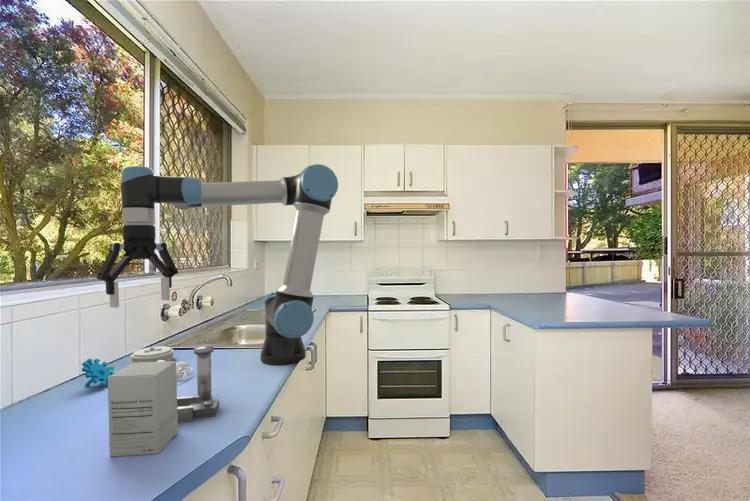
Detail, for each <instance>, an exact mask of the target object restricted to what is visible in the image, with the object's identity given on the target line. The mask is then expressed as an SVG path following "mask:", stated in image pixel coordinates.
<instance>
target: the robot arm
mask: <svg viewBox="0 0 750 501" xmlns="http://www.w3.org/2000/svg"><path fill="white" fill-rule="evenodd" d="M120 176H121V178H120V179H121V180H120V189H121V190H120V192H121V194H120V195H121V205H122V206H121V212H122V213H121V215H122V224H124V225H123V226H122V239H123V242H122V243H119V242H111V243H110V244H109V251H108V254H107V256H106V258H105V259H104V261H103V264H102V265H101V268H100V269H99V272H98V274H97V275H96V280H99V281H104V282H105V293H106V295H108V296H109V307H110V308H120V298H119V294H120V293H119V281H116V279H117V278H118V277H119V275H121V273H122V272H123V271H124V270H125V268H126V267H127V266H128V264H129V263H130V262H132V261H133V260H148V261H150V262H151V263H152V265H153V266H154V267H155V268H156V269H157V270H158V271H159V273H161V275H162V276H161V277H160V292H161V293H160V295H161V301H170V298H171V296H170V295H171V293H170V289H171V288H172V287H173V283H172V282H173V281H172V278H173V277H174V276H175V275H177V274H179V271H178V268H177V266H176V264H175V263H174V261H173V258H172V257H171V254H170V253H169V251H168V246H167V245H168V244H167V243H166V242H158V243H156V242H155V240H156V227H155V225H154V224H155V223H156V215H155V214H156V213H155V212H156V211H155V210H156V209H155V204H170V205H171V206H173V207H174V208H175V209H180V210H188V209H193V208H205V207H206V208H207V207H224V206H225V207H226V206H242V205H243V206H245V205H246V206H247V205H260V204H261V205H262V204H263V205H264V204H279V203H280V204H282V205H283V206H293V207H294V209H296V215H295V219H294V225H293V229H292V236H291V240H290V246H289V251H288V255H287V261H286V266H285V272H284V276H283V277H284V278H283V282H282V286H280V287H279V288H277V289H276V291H272V292H267V293H266V294H265V295H264V301H263V302H264V310H265V311H264V312H265V314H264V315H265V316H264V317H265V318H264V319H265V323H264V324H265V325H264V326H265V329H264V330H265V331H264V332H265V337H264V342H263V345H262V348H261V351H260V362H261V363H263V364H267V365H287V364H289V365H290V364H295V363H298V362H301V361H303V360H304V359H306V358H307V353H306V348H305V345H304V341H303V339H302V337H303V336H304V335H306V334H307V333H308V332H309V331H310V329H311V328H312V326H313V323H314V319H315V317H314V316H315V315H314V311H313V309H312V307H313V302H314V298H315V297H314V294H313V292H312V291H311V287H312V281H313V276H314V270H315V266H316V261H317V260H316V259H317V255H318V249H319V244H320V239H321V233H322V227H323V221H324V217H325V216H326V215H327V214H328V213H330V211H331V205H332V201H333V198H334V197H335V196H336V194H337V192H338V188H339V180H338V177H337V175H336V174H335V171H333V170H332V169H331V168H330V167H329V166H327V165H324V164H319V163H318V164H317V163H316V164H312V165H308V166H306V167H305V168H304V169H303V170H302V171H301V172H300V173H299V174H296V175H292V176H287V177H286V176H282V177H281V178H280V179H279V180H256V181H255V180H254V181H253V180H251V181H250V180H247V181H226V182H225V181H223V182H221V181H220V182H202V181H201V178H199V177H192V176H191V177H190V176H189V175H188V176H171V175H169V176H168V175H167V176H166V175H157V174H156V175H155V173H154V170H153V169H152V168H151V167H147V166H140V165H128V166H127V165H126V166H124V167H122V169H121V175H120ZM122 250H123V251H124V254H123V255H122V256H121V257H120V260H119V261H118V262H117V263H116V264H115V262H116V260H117V258H118V257H119V255H120V252H121V251H122ZM155 250H156V251H158V253H159V255H157V253H156V252H155ZM159 256H160V258H161V259H162V260H161V259H160V258H159Z"/></svg>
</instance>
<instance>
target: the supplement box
mask: <svg viewBox="0 0 750 501" xmlns="http://www.w3.org/2000/svg"><path fill="white" fill-rule="evenodd" d="M176 363H177V361H175V360H171V361H165V362H136V363H132V364H131V363H130V364H128V365H126V366H125V367H123V368H121V369H119V370H118V371H116V372H113V373H114V374H112V375H111V376H109V377H108V382H107V383H108V385H107V403H108V406H107V407H108V408H107V409H108V441H109V443H108V444H109V445H108V446H109V457H111V456H112V457H125V456H139V455H140V456H141V455H155V454H157V455H158V454H160V453H161V452H162V450H163V449H165V446H166V445H168V443H169V442H170V441H171V439H173V437H174V436H176V434H177V433H178V431H179V423H178V415H177V397H178V390H177V386H178V385H177V383H178V382H177V381H176V380H177V379H176Z"/></svg>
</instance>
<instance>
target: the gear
mask: <svg viewBox="0 0 750 501" xmlns="http://www.w3.org/2000/svg"><path fill="white" fill-rule="evenodd" d="M100 362H101V360H100V358H99V359H98V358H95V359H92V358H87V359H86V361H84V362H83V363H81V366H82V368H81V372H84V373H85V374H84V377H85V378H86V379H89V380H87V382H86V383H84V386H85V387H87V388H88V387H89V386H90V385H92V383H93V384H94V385H96V384H97V383H98V382H99V381H100V383H99V385H100V386H101V387H105V386H106V385H107V386H108V377H109V376H111V375H112V374H114V373H115V372H114V370H115V367H116V366H115V365H113V364H112V365H111V366H109V367H107V366H108V363H107V362H106V361H103V362H101V364H100Z"/></svg>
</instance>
